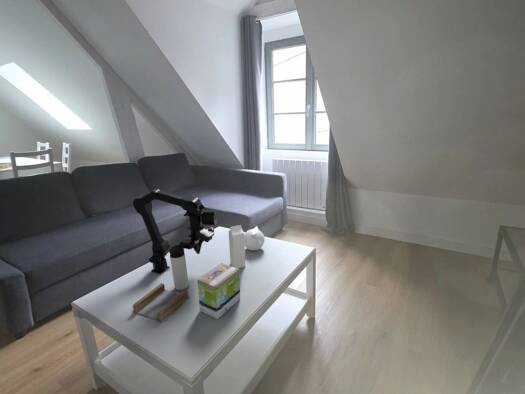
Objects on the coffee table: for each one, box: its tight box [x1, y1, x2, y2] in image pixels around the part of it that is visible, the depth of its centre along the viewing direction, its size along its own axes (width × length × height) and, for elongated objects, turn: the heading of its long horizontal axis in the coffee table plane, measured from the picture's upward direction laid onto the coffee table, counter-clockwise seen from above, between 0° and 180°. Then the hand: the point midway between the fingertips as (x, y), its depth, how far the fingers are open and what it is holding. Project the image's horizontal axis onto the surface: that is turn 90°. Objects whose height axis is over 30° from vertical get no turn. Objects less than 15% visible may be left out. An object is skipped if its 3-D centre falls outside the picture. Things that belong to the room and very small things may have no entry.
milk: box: [228, 224, 246, 269], centre depth 143 cm, size 6×6×22 cm
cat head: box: [244, 226, 265, 252], centre depth 161 cm, size 15×13×12 cm
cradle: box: [132, 282, 191, 323], centre depth 117 cm, size 16×16×3 cm
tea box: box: [196, 262, 241, 320], centre depth 115 cm, size 15×10×15 cm
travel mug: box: [168, 243, 190, 292], centre depth 126 cm, size 6×7×20 cm
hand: (198, 253), depth 138 cm, fingers closed
